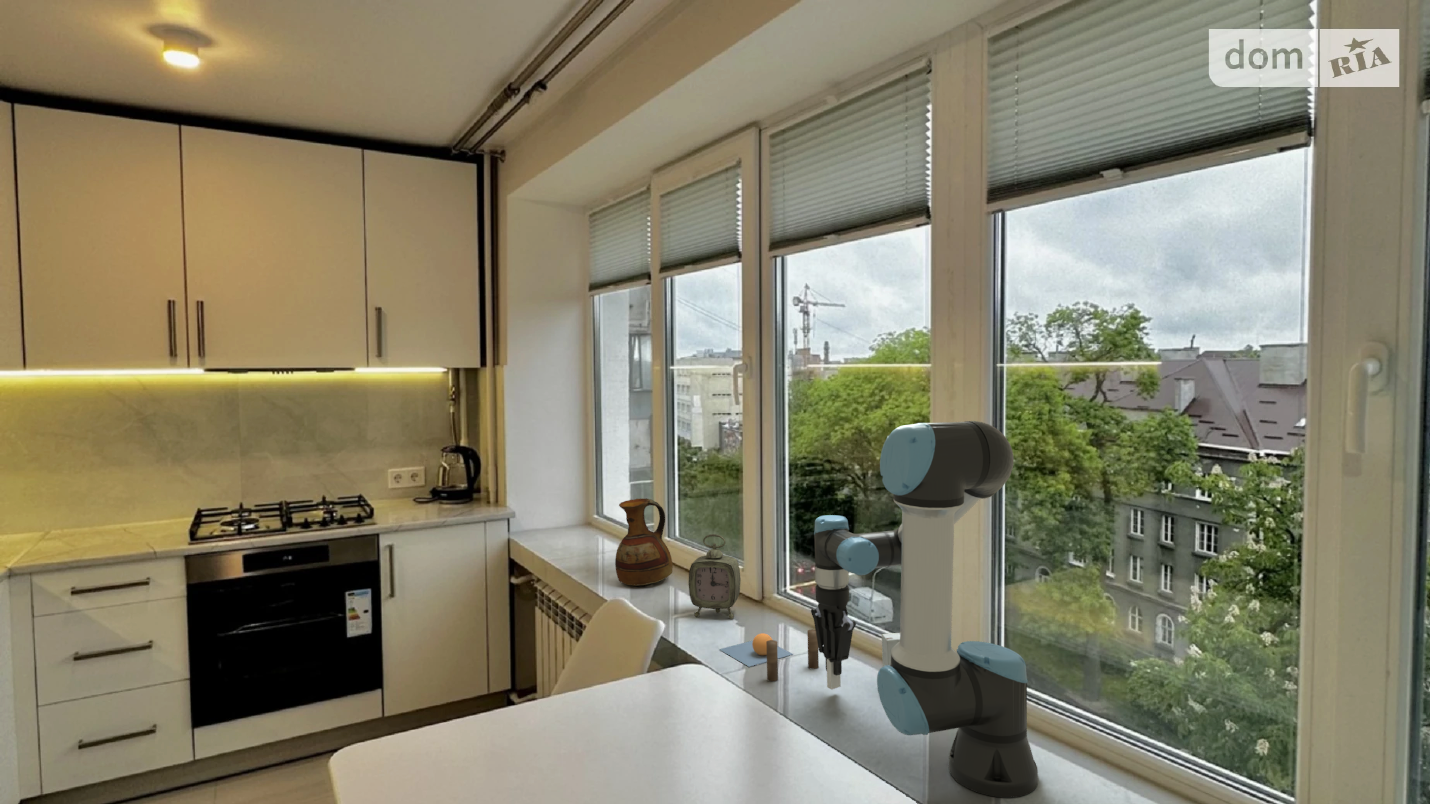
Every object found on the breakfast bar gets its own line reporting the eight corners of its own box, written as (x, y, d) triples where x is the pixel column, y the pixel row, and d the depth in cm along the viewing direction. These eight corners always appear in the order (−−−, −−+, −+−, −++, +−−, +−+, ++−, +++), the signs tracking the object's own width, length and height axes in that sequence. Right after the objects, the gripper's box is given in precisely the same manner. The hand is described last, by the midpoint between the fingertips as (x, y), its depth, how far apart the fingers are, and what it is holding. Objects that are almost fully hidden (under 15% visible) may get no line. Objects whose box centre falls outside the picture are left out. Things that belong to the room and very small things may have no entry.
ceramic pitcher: (609, 579, 265) (606, 497, 264) (661, 571, 274) (659, 492, 272) (626, 593, 247) (623, 505, 246) (681, 585, 256) (679, 499, 255)
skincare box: (906, 681, 173) (906, 631, 173) (913, 690, 169) (913, 638, 168) (881, 683, 173) (880, 632, 172) (887, 691, 168) (887, 639, 168)
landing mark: (793, 654, 191) (793, 654, 191) (749, 667, 184) (749, 666, 184) (762, 638, 203) (762, 638, 203) (719, 649, 196) (719, 649, 196)
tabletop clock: (689, 618, 221) (687, 536, 220) (697, 609, 229) (695, 530, 228) (736, 621, 217) (734, 538, 216) (742, 611, 226) (740, 531, 225)
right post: (820, 667, 183) (820, 631, 182) (812, 669, 181) (812, 633, 181) (814, 663, 185) (813, 628, 184) (806, 666, 183) (805, 630, 183)
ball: (767, 652, 195) (779, 653, 190) (750, 657, 192) (761, 658, 187) (763, 631, 196) (775, 631, 191) (746, 635, 193) (757, 636, 188)
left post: (780, 679, 176) (779, 642, 176) (771, 682, 175) (770, 645, 174) (773, 675, 178) (773, 639, 178) (765, 678, 177) (764, 641, 176)
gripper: (864, 588, 162) (866, 693, 163) (826, 575, 173) (827, 673, 174) (838, 594, 158) (840, 701, 159) (801, 580, 169) (802, 681, 170)
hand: (833, 686), depth 167 cm, fingers closed
